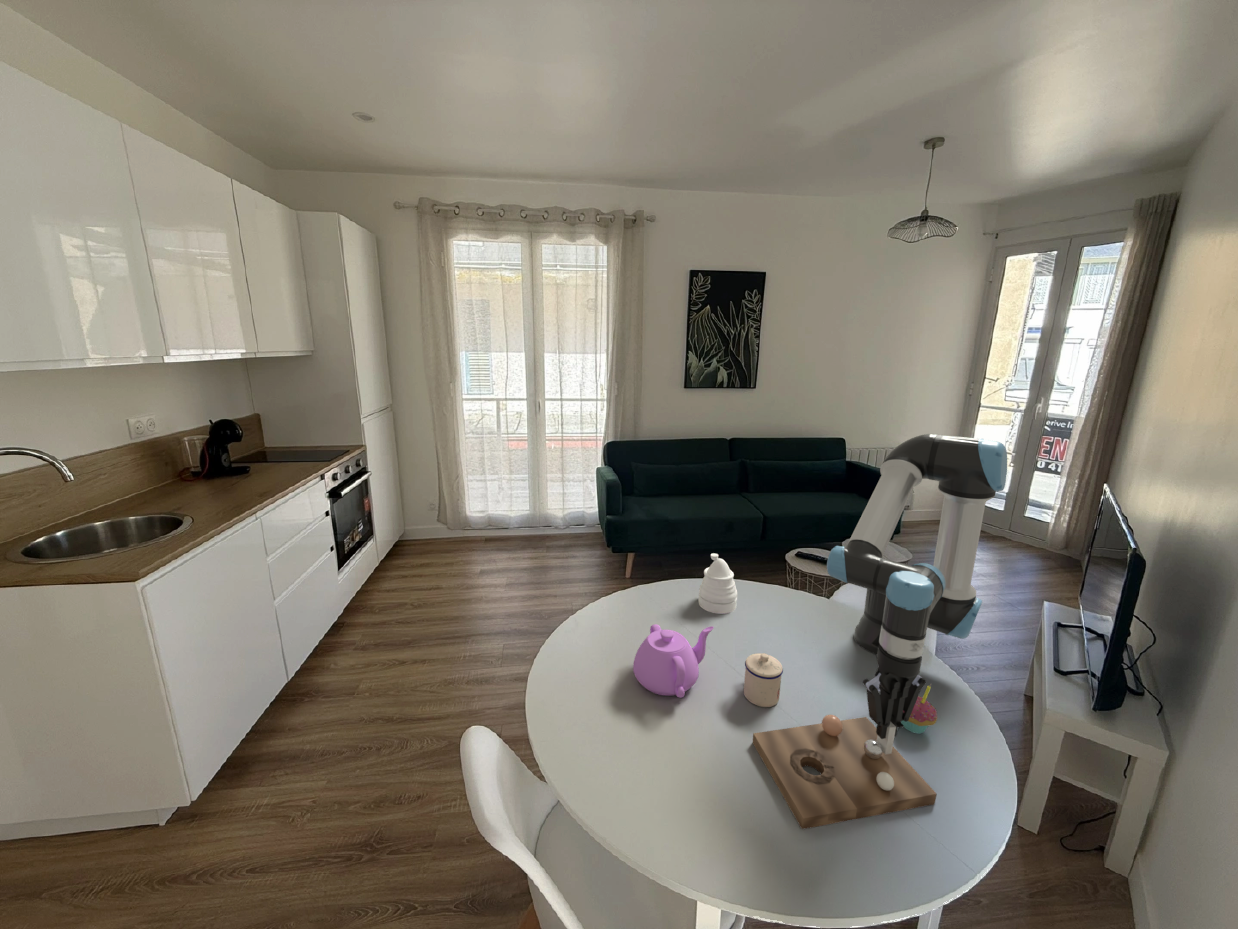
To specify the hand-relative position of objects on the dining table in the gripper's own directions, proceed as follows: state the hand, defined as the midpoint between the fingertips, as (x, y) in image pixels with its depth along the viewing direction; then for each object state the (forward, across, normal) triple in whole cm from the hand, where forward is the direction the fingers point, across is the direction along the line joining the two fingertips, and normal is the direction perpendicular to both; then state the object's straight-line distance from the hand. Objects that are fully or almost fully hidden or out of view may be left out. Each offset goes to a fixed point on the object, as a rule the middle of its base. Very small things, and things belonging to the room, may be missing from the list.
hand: (883, 748), depth 100 cm
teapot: (+4, -35, +34) cm, 49 cm away
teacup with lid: (+4, -15, +25) cm, 30 cm away
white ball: (0, -5, -7) cm, 9 cm away
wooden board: (+4, -10, 0) cm, 11 cm away
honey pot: (+4, -9, +68) cm, 69 cm away
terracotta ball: (0, -7, +7) cm, 10 cm away
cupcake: (+4, +15, +8) cm, 17 cm away
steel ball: (0, -2, 0) cm, 3 cm away
